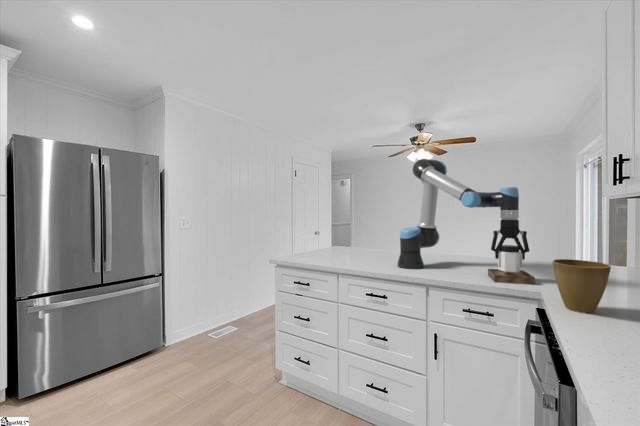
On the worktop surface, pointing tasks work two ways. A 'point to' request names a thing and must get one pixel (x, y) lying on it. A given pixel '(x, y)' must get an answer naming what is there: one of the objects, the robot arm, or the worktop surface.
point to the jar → (510, 258)
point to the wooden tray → (511, 277)
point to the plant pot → (581, 283)
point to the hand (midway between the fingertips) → (509, 265)
